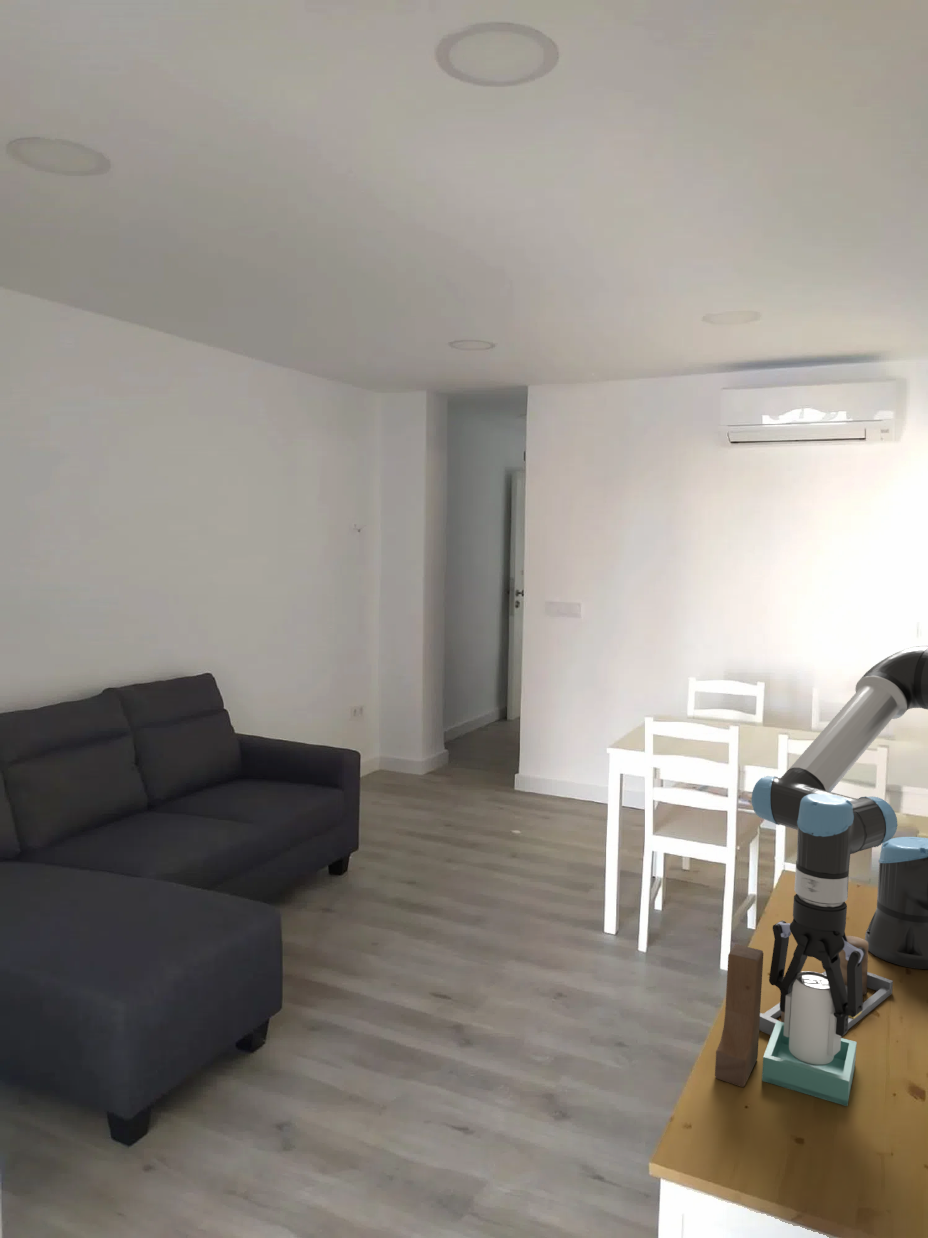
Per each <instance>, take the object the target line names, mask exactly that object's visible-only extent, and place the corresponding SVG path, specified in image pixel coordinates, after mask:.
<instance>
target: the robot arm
mask: <svg viewBox="0 0 928 1238" xmlns="http://www.w3.org/2000/svg"><path fill="white" fill-rule="evenodd" d="M912 709H924V710H928V645H920V646H912V647H909V648H904V649H903V650H900V651H898V652H895V653H892V655H891V654H890V655H889V656H887V657H885V658H884V659H883V660H880V661H879V662H878V663H876V664H875V665H874V666H873V665H872V667H871V668H870V669H868V670H867V671H866V672H865V673H864V674H863V676H862V677H860V679H859V680H858V681H857V683H856V684H855V693H854V694H853V695H852V697H851V698H850V699H849V700H848V701H847V702H846V703H845V705H843V707H842V708H841V709H840V710H839V712H838V713H836V715H835V716H834V717H833V718H832V720H831V721H830V722H828V724H827V725H826V726H825V727H824V729H823V730H822V731H821V732H820V733H819V734H818V736H816V738H815V739H814V740H813V741H812V742H811V743H810V745H809V746H808V747H807V748H806V749H805V750H804V751H803V752H802V754H801V755H800V756H799V757H797V759H796V760H795V762H794V763H792V765H791V766H790V767H789V768H788V770H787V771H786V772H785V773H784V774H783V775H782V776H781V777H778V776H775V775H774V776H769V775H767V776H764V777H761V778H759V779H758V780H757V781H756V783H755V785H754V786H753V788H752V789H753V790H752V793H751V806H752V810H753V811H754V813H755V814H756V816H758V817H759V818H761V819H763V820H765V821H768V822H769V823H770V822H771V823H772V824H775V825H777V826H783V827H787V828H790V829H793V830H797V842H796V860H795V876H794V892H795V893H796V894H794V896H793V907H792V917H793V919H792V921H791V923H789V922H786V921H785V920H780V921H779V922H776V923H775V924H773V925H772V932H773V933H772V934H773V936H774V942H773V949H772V956H771V964H770V969H769V977H768V981H769V984H770V985H772V986H775V987H777V988H778V989H779V991H780V999H779V1003H780V1010H781V1011H782V1012H785V1018H784V1036H786V1037H789V1035H790V1018H791V1003H792V989H793V984H794V982H795V980H796V979H797V978H796V975H797V974H798V973H800V972H802V970H803V968H804V966H805V963H806V961H807V958H808V957H810V958H815V959H816V960H817V961H820V962H821V965H822V968H823V970H824V972H825V971H826V975H827V979H828V983H829V987H830V992H831V996H832V1000H833V1004H834V1008H835V1011H834V1012H832V1013H830V1023H829V1039H828V1055H829V1056H831V1057H833V1056H834V1055H835V1054H837V1053H838V1052H839V1051H840V1047H841V1038H842V1037H844V1036H845V1034H847V1032H848V1031H849V1029H848V1017H849V1016H851V1017H855V1016H856V1015H857V1014H859V1013H860V1012H861V1011H862V1010H863V999H864V998H863V995H862V961H863V959H864V956H865V954H866V951H865V949H864V948H862V947H859V948H856V947H854V946H853V945H851V944H850V943H848V941H847V938H846V936H847V935H846V925H847V923H846V922H847V909H848V905H847V903H846V901H847V900H848V897H849V895H848V894H849V877H850V876H849V874H850V862H851V861H850V859H851V855H853V854H856V853H858V852H862V851H865V850H868V849H871V848H877V847H879V846H881V848H880V853H879V859H878V863H879V865H878V879H877V880H878V881H877V896H876V897H877V898H876V909H875V912H874V914H873V916H872V918H871V920H870V922H869V925H868V927H867V930H866V931H865V933H864V935H865V936H864V940H866V941H867V942H868V952H870V954H872V955H874V956H875V957H877V958H878V959H881V960H882V961H885V962H889V963H891V964H893V965H897V966H901V967H906V968H910V969H920V970H928V837H920V836H919V837H918V836H899V837H894V836H895V834H896V832H897V830H898V818H897V814H896V812H895V810H894V808H893V807H892V806H891V805H890V804H889V802H887V801H886V800H885V799H883V798H881V797H878V796H861V797H860V796H859V798H854V797H852V796H848V795H844V794H839V793H836V792H832V791H833V790H835V788H836V787H837V785H838V784H839V783H840V782H841V780H842V779H843V778H844V777H845V776H846V774H847V773H848V772H849V771H850V770H851V768H852V767H853V766H854V765H855V764H856V763H857V761H858V760H859V759H860V758H861V757H862V755H863V754H864V753H865V752H866V751H867V750H868V748H869V747H870V746H871V745H872V743H874V741H875V740H876V739H877V737H878V736H879V735H880V734H881V732H883V730H884V729H885V728H886V727H887V725H888V724H889V723H890V722H891V721H892V720H895V719H898V718H901V717H902V716H903V715H904V714H905V713H906V712H907V711H908V710H912ZM791 935H792V936H793V939H794V940H795V942H796V944H797V945H796V947H795V949H794V952H793V954H792V959H791V960H790V963H789V965H788V967H787V970H786V962H787V955H788V949H789V941H790V936H791ZM842 950H844V951H845V953H846V960H848V963H847V992H846V988H845V984H844V980H843V976H842V972H841V968H840V957H839V952H841V951H842ZM785 970H786V971H785Z"/></svg>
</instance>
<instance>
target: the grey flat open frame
mask: <svg viewBox="0 0 928 1238" xmlns="http://www.w3.org/2000/svg"><path fill="white" fill-rule="evenodd" d="M821 974H824V975H826V971H825V970H824V971H823V972H822V973H821ZM826 976H827V975H826ZM893 982H894V980H891V979H889V978H886V977H884V976H880V975H878V974H875V973H872V972H871V971H870V972H869V971H867V988H868V989H871V990H873V991H876V992H875V993H874V994H872V995H871V996H870V997H868V998H867V999H866V1000H865V1001H864V1002H863V1010H862V1011H861V1012H860V1013H859V1014H857V1015H856V1016H855V1017H851V1016H849V1017H848V1030H850V1029H851V1028H852V1027H853V1026H855V1025H856V1024H857V1023H858V1022H859V1021H860V1020H862V1019H863V1018H864V1017H865V1016H866V1015H868V1014H869V1013H870V1012H872V1011H873V1010H874V1009H875V1008H876V1007H878V1005H879V1006H880V1004H881V1003H882V1002H883V1001H885V1000H886V999H888V998H889V997H890V996H891V995H892V994H893V986H894V983H893ZM845 988H846V992H847V986H846V985H845ZM781 1013H782V1011H781V1010H780V1002H778V1003H776V1004H775V1005H774V1006H773V1007H771V1008H769V1009H768V1010H766V1012H764V1013H763V1012H760V1023H759V1032H763V1033H764V1034H767V1035H769V1036H771V1035H772V1032H773V1030H774V1027H775V1024H776V1021H780V1022H781V1020H778V1018H779V1017H781Z"/></svg>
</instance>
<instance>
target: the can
mask: <svg viewBox="0 0 928 1238" xmlns="http://www.w3.org/2000/svg"><path fill="white" fill-rule="evenodd" d="M796 978H797V979H796V980H795V982H794V984H793V989H792V1003H791V1018H790V1035H789V1050H790V1052H791V1054H792V1055H793V1056H794V1057H795V1058H796V1059H798V1060H799V1061H801V1062H804V1063H806V1064H810V1065H815V1066H823V1065H827V1064H829V1063H830V1062H831V1061H832V1060H833V1058H834V1056H833V1057H831V1056H829V1055H828V1039H829V1023H830V1013H832V1012H834V1011H835V1008H834V1004H833V1000H832V996H831V992H830V987H829V983H828V979H827V976H826V975H824V974H822V973H820V972H816V971H801V972H800V973H798V974H797V975H796Z"/></svg>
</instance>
